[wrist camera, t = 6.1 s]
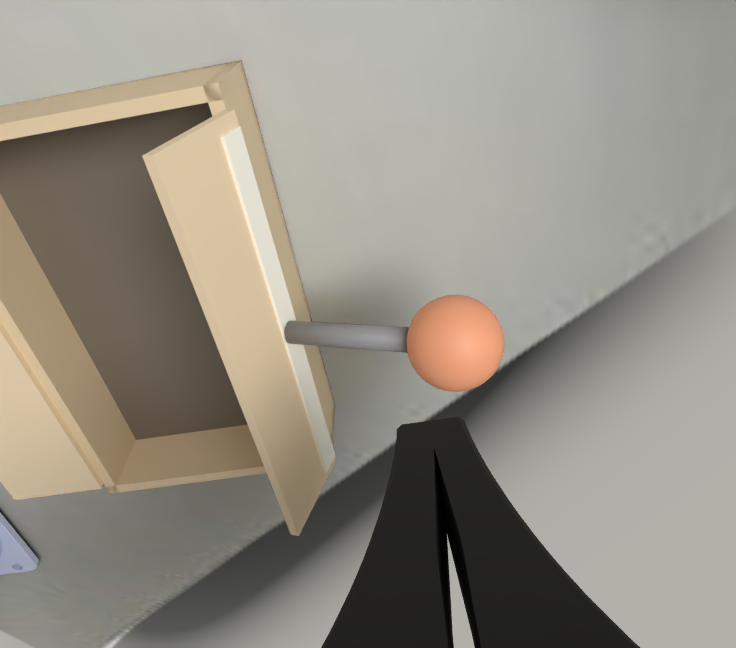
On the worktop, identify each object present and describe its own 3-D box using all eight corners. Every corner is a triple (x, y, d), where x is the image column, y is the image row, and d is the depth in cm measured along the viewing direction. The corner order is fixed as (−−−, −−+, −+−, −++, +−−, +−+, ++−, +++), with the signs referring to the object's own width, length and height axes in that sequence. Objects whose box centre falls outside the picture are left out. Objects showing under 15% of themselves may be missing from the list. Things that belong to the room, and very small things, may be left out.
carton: (62, 443, 26) (22, 509, 23) (-142, 133, 18) (-242, 171, 15) (334, 405, 25) (331, 469, 22) (241, 60, 17) (216, 84, 14)
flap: (290, 534, 19) (498, 579, 16) (142, 156, 12) (464, 133, 9) (335, 446, 22) (516, 473, 19) (237, 102, 15) (501, 75, 12)
